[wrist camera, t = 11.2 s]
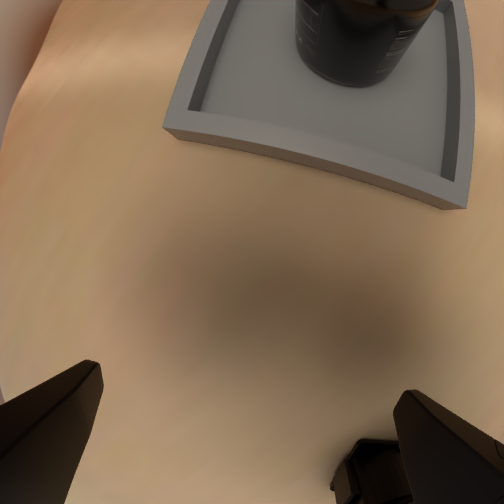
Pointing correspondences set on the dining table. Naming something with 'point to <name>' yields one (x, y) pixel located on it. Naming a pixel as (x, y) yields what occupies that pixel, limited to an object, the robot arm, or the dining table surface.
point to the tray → (333, 102)
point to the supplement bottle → (357, 36)
